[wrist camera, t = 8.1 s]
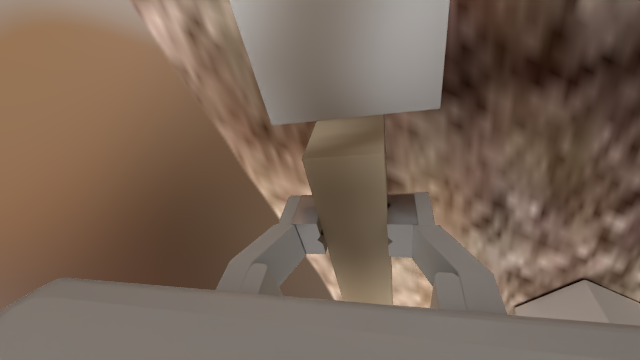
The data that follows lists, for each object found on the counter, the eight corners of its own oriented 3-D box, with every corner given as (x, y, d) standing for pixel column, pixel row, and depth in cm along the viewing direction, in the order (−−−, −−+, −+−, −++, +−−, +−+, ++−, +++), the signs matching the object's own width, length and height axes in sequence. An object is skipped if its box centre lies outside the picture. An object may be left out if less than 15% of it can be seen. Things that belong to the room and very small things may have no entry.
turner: (466, -265, 5) (541, -460, 3) (423, 266, 15) (431, 320, 13) (190, -147, 6) (86, -202, 4) (323, 261, 17) (313, 309, 14)
